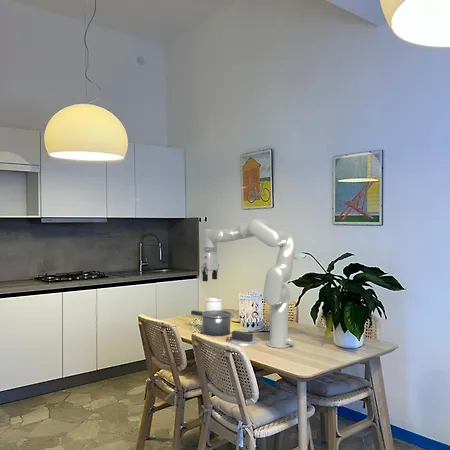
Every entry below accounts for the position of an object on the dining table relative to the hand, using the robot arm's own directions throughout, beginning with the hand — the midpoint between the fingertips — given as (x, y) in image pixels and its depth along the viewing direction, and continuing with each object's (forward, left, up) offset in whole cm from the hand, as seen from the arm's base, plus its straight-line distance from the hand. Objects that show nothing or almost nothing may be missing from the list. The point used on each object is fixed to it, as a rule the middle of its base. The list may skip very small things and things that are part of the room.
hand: (209, 280), depth 256 cm
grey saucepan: (+1, -2, -30) cm, 30 cm away
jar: (+12, -22, -30) cm, 39 cm away
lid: (-24, +5, -31) cm, 39 cm away
